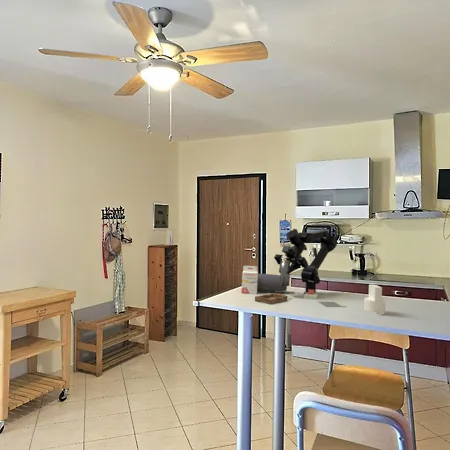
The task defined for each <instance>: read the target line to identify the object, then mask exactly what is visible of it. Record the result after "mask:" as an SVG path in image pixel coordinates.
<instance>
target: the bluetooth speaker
mask: <svg viewBox="0 0 450 450" xmlns="http://www.w3.org/2000/svg"><path fill="white" fill-rule="evenodd" d="M287 289H288V286H280V275H279V274H272V273H271V274H270V273H258V282H257V293H259V292H260V293H271V294H276V292H286V291H287Z"/></svg>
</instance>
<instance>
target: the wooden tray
mask: <svg viewBox="0 0 450 450" xmlns="http://www.w3.org/2000/svg"><path fill="white" fill-rule="evenodd" d="M277 294H278V293H267V294H262V295H255V296H254V302H258V303H261V304H265V305H267V304H268V305H273V304H279V303H283V302H288V295H287V296H286V295H285V296H283V295H277Z"/></svg>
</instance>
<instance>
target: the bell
mask: <svg viewBox="0 0 450 450" xmlns="http://www.w3.org/2000/svg"><path fill="white" fill-rule="evenodd" d="M290 266H291V263H290V260H287V259H284V260H281V271H280V273H279V274H280V286H287V287H289V286H290V278H291V275H290V274H291V273H289V274H287V271H288V269H289V268H290Z"/></svg>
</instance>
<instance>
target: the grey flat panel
mask: <svg viewBox="0 0 450 450" xmlns="http://www.w3.org/2000/svg"><path fill="white" fill-rule="evenodd" d="M318 303H319V304H320V305H322V306H323V307H325V308H347V306H346V305H344V304H343V303H340V302H338V301H318Z"/></svg>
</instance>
